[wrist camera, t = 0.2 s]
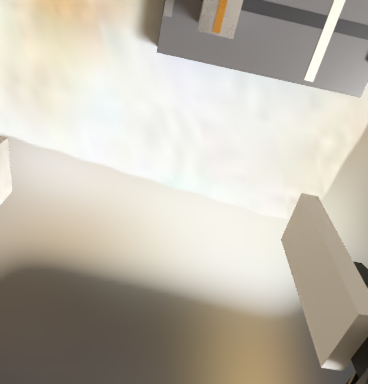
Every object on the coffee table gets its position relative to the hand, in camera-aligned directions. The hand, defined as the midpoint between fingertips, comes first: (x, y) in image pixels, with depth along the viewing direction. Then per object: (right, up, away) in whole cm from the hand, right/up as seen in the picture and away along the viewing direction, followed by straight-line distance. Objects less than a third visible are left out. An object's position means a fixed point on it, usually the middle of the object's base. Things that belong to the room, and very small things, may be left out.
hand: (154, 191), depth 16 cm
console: (+11, +18, +19) cm, 29 cm away
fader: (+5, +18, +17) cm, 25 cm away
